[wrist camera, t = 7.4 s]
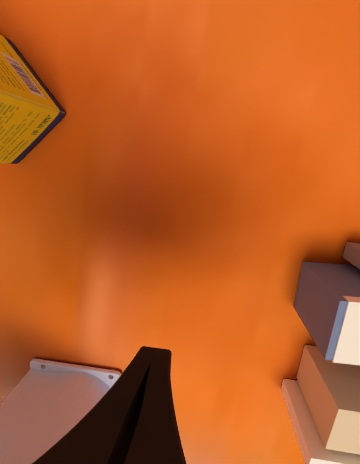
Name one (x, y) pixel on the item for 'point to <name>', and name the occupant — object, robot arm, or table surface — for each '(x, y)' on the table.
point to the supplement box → (22, 106)
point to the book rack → (326, 402)
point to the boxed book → (331, 309)
